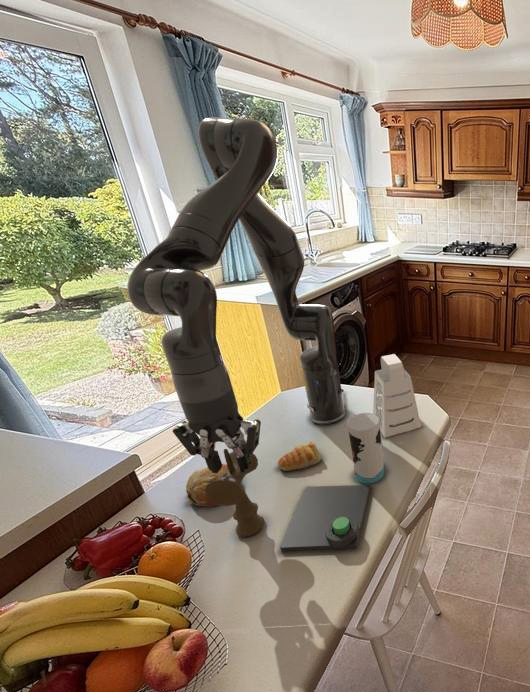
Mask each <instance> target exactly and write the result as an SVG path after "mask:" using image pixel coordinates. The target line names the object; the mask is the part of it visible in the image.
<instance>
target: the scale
mask: <svg viewBox="0 0 530 692" xmlns="http://www.w3.org/2000/svg"><path fill="white" fill-rule="evenodd" d="M371 489H372V488H371V485H370V484H355V485H351V484H350V485H324V486H321V485H319V486H306V487H305V490H304V492H303V493H302V496H301V498H300V501H299V503H298V505H297V508H296V510H295V513H294V515H293V517H292V519H291V522H290V524H289V526H288V529H287V531H286V534H285V535H284V538H283V540H282V543H281V545H280V547H279V548H280V552H281V553H285V552H286V553H288V552H289V553H290V552H310V551H311V552H313V551H336V550H337V551H338V550H355V549H358V544H359V541H360V536H361V531H362V528H363V524H364V519H365V514H366V510H367V506H368V502H369V497H370V493H371ZM340 517H346V518H347V519H348V520H349V524H350V530H349V531H348V532H347V533H346V534H344V535H340V536H339V535H336V534H335V533H334V530H333V522H334V521H335V520H336V519H337V518H340Z"/></svg>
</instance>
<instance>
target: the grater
mask: <svg viewBox="0 0 530 692" xmlns="http://www.w3.org/2000/svg"><path fill="white" fill-rule="evenodd" d="M380 367H381V369H377V370H375V371H374V383H373V409H372V414H374V415H376V416H377V417H378V418H379V425H380V433H381V434H382V436H383V437H384V438H388V437H391V436H395V435H398V434H402V433H405V432H409V431H412V430H415V429H419V428H421V427H422V424H421V419H420V414H419V411H418V405H417V400H416V396H415V391H414V385H413V381H412V376H411V375H410V374H409V373H408V372H407V371H406V369H405V368H404V365H403V362H402V360H401V359H400V358H399V357H398V356H397V355H396V353H392V354H388V355H382V356H380ZM409 421H410V422H409ZM405 422H407V423H405ZM402 423H404V424H402ZM395 425H397V426H395ZM390 426H391V427H390ZM392 426H394V427H392Z"/></svg>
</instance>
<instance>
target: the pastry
mask: <svg viewBox="0 0 530 692" xmlns="http://www.w3.org/2000/svg"><path fill="white" fill-rule="evenodd" d="M321 459H322V457H321V454H320V452H319V450H318V448H317V445H316V443H314V442H312V441H311V442H309V443H305V444H302V445H298V446H295V447H294V448H293V449H292V450H291V451H289V452H287V453H285V454H284V455H283V456H281V457H280V458H279V459H278V463H277V466H278V469H280V470H282V471H287V472H289V471H295V470H301V469H305V468H308V467H310V466H314V465H317V464H319V463H320V462H321Z"/></svg>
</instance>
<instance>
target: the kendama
mask: <svg viewBox="0 0 530 692" xmlns="http://www.w3.org/2000/svg"><path fill="white" fill-rule="evenodd" d="M223 455H224V459H225V464H226V465H227V470H226V472H225V474H224V475H223V477H222V478H220V479H216V480H214V481H212V482H210V483H209V484H208V485H207V487H206V489H205V492H206V496H207V497H208V499H209V500H210V501H211V502H213V503H214V504H217V505H218V506H221V507H223V506H225V507H229V506H235V508H234V511H233V512H232V513H233V514H232V518H233V520H235V521H236V522H237V525H236V528H235V534H236V535H237V536H238V537H245V538H246V537H250V536H253V535H255V534H258V533H259V532H260V531H261V530H262V528H263V527H264V526H265V518H264V516H262V515H261V514H258V510H259V506H258V503H257V502H255V501H251V499H250V498H249V496H248V494H247V492H246V490H245V489H244V487H243V485H242V482H243V480H244V478H245V477H246V476H247V475H248V474H250V473H252V472H254V471H256V470H257V468H258V466H259V459H258V457H257V455H256V454H255V453H254V452H253V453H252V454H250V456H251V460H252V464H251V466H250V468H249V469H248V470H247V472H241V470H240V467H239V464H238V461H237V458H236V457H237V455H236V454H235V453H234V451H233V450H232V451H231V452H229V450H228V449H227V448H224V449H223Z"/></svg>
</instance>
